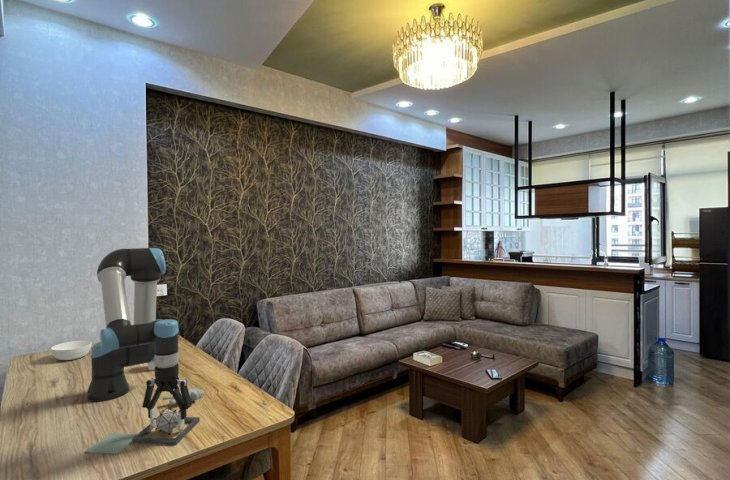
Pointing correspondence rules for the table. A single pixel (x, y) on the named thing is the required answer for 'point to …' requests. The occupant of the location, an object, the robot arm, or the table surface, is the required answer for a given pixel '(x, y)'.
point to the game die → (167, 421)
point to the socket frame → (172, 441)
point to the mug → (151, 366)
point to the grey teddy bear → (193, 393)
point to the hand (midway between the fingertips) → (167, 427)
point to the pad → (112, 443)
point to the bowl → (71, 350)
